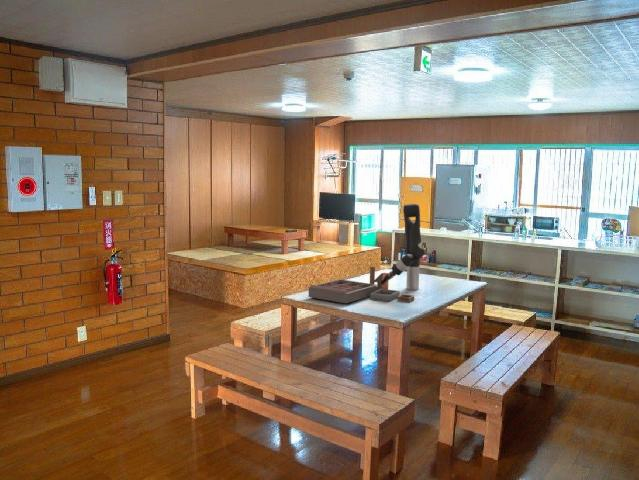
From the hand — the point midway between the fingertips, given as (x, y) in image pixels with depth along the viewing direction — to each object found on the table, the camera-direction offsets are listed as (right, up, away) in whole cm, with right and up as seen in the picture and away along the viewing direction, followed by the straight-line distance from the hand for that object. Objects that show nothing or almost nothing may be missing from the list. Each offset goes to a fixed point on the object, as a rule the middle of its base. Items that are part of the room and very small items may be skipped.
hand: (382, 282), depth 367 cm
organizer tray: (-27, -10, +1) cm, 29 cm away
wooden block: (-2, -8, +23) cm, 24 cm away
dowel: (+2, -6, 0) cm, 6 cm away
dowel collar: (+15, -11, -7) cm, 20 cm away
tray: (+2, -10, 0) cm, 11 cm away
